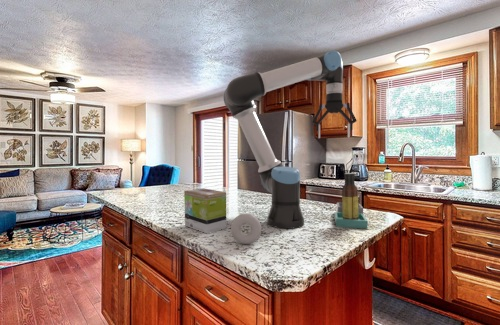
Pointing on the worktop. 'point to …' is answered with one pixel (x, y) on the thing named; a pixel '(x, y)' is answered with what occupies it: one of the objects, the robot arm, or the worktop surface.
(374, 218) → the worktop surface
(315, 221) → the worktop surface
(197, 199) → the tea box
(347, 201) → the sauce bottle
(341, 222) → the tray
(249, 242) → the donut
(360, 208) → the bottle holder
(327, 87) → the robot arm
